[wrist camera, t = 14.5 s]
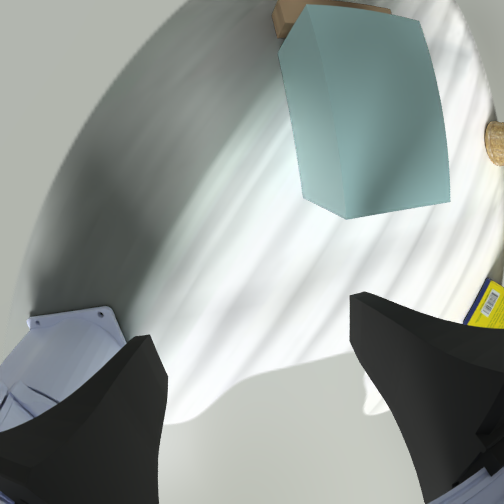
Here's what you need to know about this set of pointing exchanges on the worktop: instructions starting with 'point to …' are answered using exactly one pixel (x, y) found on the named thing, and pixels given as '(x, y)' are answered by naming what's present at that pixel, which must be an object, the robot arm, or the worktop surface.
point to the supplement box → (488, 307)
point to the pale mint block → (364, 112)
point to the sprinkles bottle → (495, 142)
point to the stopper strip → (293, 5)
